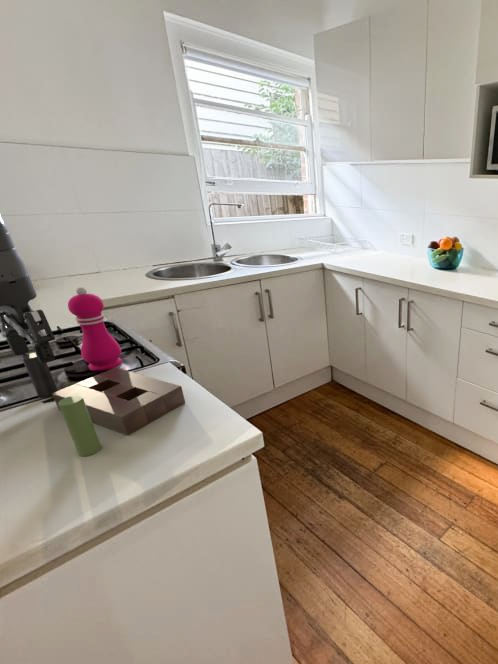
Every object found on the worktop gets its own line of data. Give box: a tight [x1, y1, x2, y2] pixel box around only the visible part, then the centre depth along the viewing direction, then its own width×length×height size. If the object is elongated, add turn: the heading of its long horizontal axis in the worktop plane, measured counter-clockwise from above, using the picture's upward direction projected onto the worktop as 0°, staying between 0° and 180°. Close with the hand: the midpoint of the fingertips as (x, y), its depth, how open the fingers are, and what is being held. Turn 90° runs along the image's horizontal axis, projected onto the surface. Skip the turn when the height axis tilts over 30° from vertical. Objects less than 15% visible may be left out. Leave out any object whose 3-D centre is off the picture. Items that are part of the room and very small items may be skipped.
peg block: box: [52, 367, 186, 436], centre depth 75 cm, size 12×20×4 cm, turn 69°
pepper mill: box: [67, 286, 123, 372], centre depth 86 cm, size 7×7×20 cm
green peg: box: [58, 395, 102, 457], centre depth 62 cm, size 3×3×10 cm
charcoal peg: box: [21, 352, 59, 404], centre depth 76 cm, size 3×3×10 cm
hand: (34, 357), depth 74 cm, fingers open, 8 cm apart
